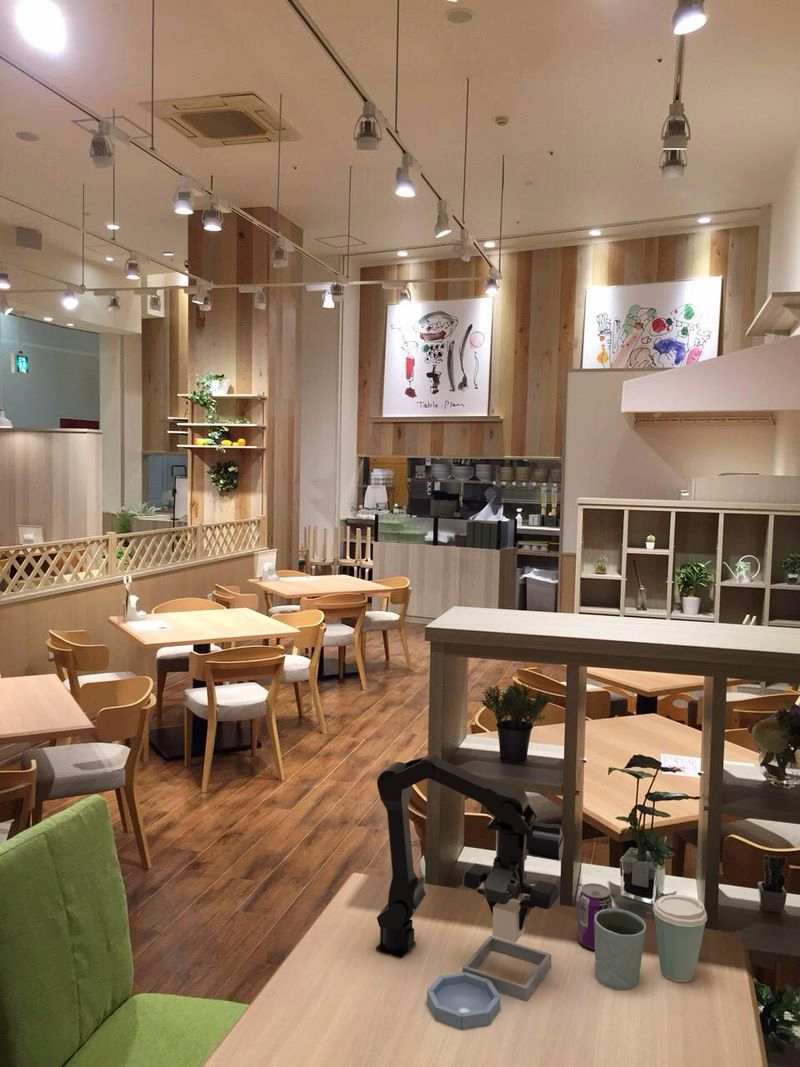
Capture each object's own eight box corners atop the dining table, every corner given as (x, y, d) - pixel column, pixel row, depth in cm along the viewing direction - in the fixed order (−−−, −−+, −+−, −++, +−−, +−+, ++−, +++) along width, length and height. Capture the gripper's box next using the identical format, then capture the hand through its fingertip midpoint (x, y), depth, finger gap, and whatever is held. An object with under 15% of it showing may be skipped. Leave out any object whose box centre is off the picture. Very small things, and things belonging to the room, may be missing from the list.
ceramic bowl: (417, 1013, 158) (417, 1000, 158) (448, 978, 169) (448, 966, 169) (480, 1036, 152) (480, 1023, 152) (508, 998, 163) (508, 986, 163)
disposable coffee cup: (646, 980, 170) (648, 908, 169) (654, 953, 179) (656, 885, 178) (702, 994, 165) (704, 921, 164) (707, 966, 175) (709, 896, 174)
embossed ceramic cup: (591, 961, 176) (593, 905, 176) (641, 966, 174) (643, 911, 174) (593, 989, 166) (595, 931, 166) (646, 996, 165) (648, 937, 164)
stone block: (492, 935, 170) (493, 907, 170) (502, 924, 174) (502, 896, 174) (515, 942, 168) (516, 913, 167) (524, 931, 172) (525, 902, 172)
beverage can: (611, 954, 179) (613, 899, 178) (577, 950, 180) (579, 896, 179) (610, 936, 186) (611, 884, 185) (577, 932, 187) (578, 880, 186)
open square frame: (462, 979, 169) (462, 967, 169) (489, 946, 181) (490, 935, 181) (526, 1001, 162) (527, 989, 162) (551, 966, 174) (551, 954, 174)
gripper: (451, 855, 168) (450, 931, 169) (540, 879, 158) (538, 959, 159) (474, 835, 177) (473, 907, 178) (560, 856, 168) (557, 932, 169)
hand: (508, 926), depth 171 cm, fingers closed on stone block, 5 cm apart
